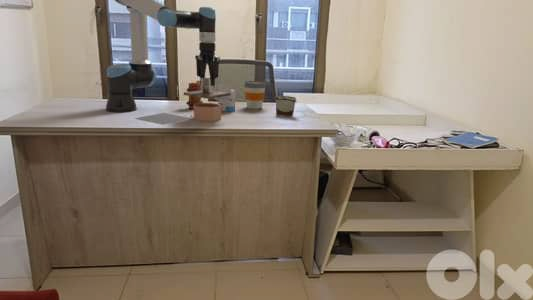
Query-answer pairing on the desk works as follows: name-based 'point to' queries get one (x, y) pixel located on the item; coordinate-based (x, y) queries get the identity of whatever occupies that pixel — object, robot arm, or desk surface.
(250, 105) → the reusable coffee cup
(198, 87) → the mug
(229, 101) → the clear plastic jar
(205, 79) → the lid
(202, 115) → the bowl
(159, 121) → the mat
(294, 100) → the food container
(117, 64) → the robot arm
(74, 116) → the desk surface
